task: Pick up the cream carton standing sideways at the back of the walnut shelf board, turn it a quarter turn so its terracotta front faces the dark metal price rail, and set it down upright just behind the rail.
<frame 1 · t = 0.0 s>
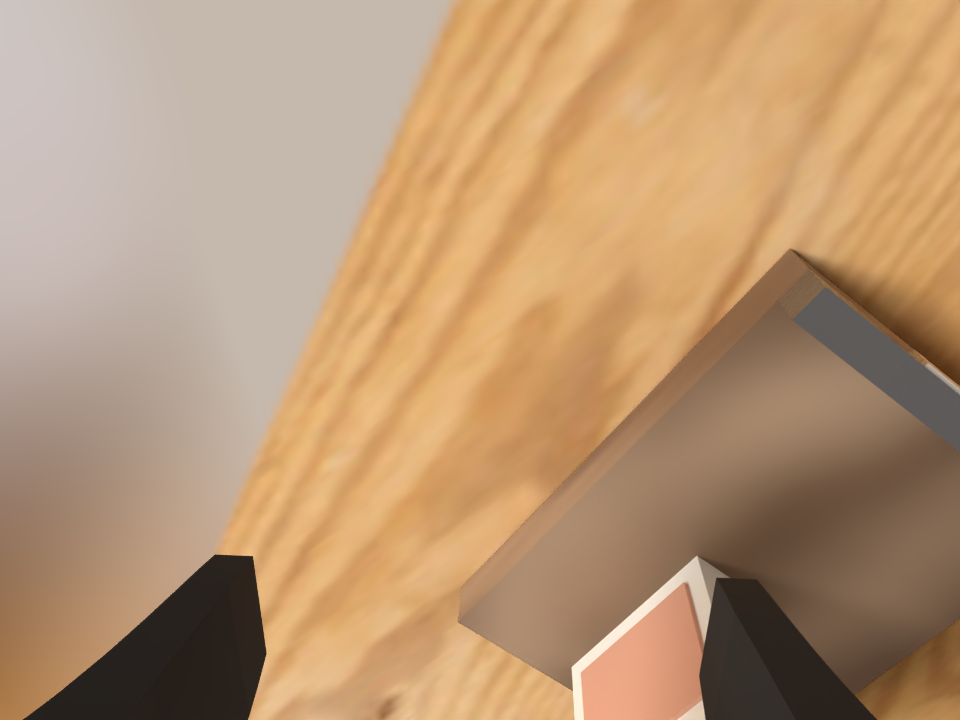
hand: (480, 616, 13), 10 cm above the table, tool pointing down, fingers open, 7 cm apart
carton: (676, 642, 24), point 1 cm above the table, touching shelf board
shelf board: (749, 536, 24), on the table
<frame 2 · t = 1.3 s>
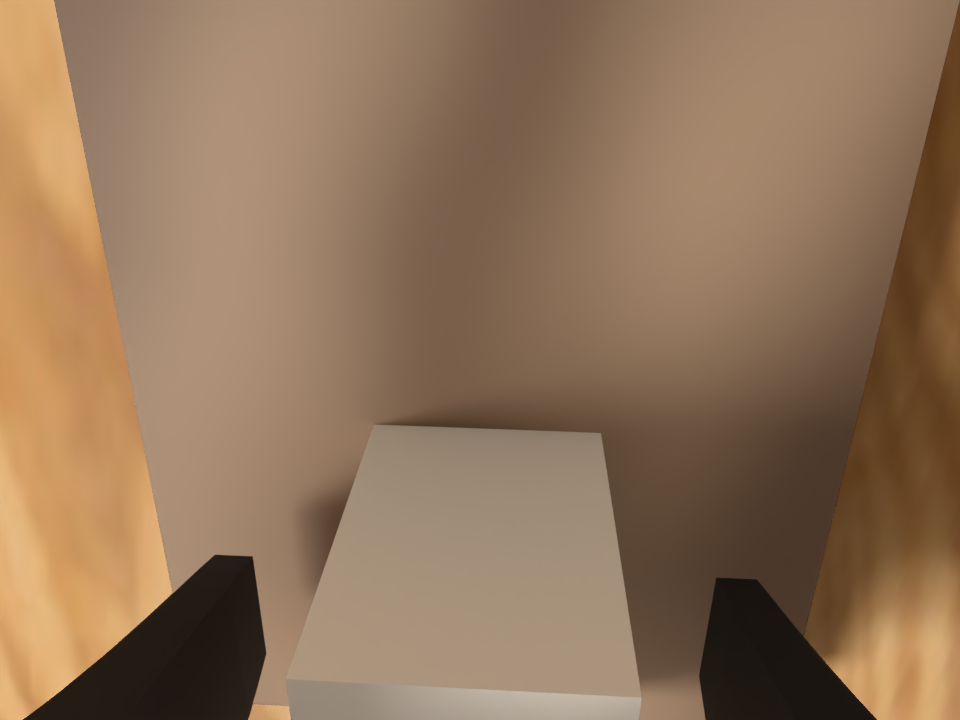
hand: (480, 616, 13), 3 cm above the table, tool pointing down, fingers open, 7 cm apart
carton: (484, 569, 14), point 1 cm above the table, touching shelf board
shelf board: (491, 343, 13), on the table
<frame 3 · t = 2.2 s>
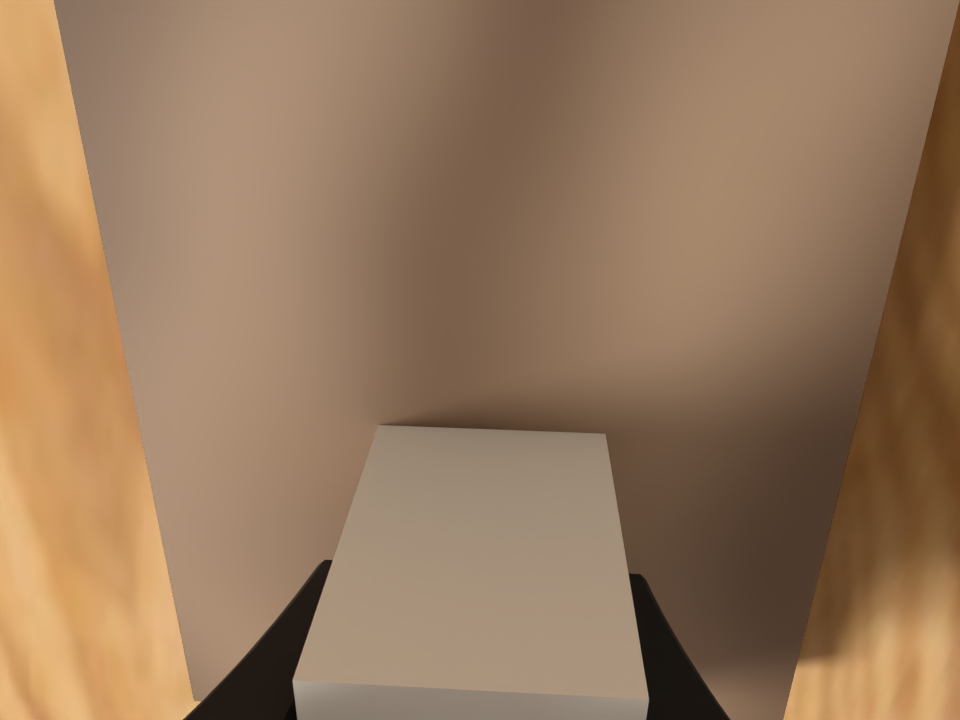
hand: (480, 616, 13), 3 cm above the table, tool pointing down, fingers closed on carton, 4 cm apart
carton: (488, 570, 14), point 2 cm above the table, touching gripper
shelf board: (491, 343, 13), on the table
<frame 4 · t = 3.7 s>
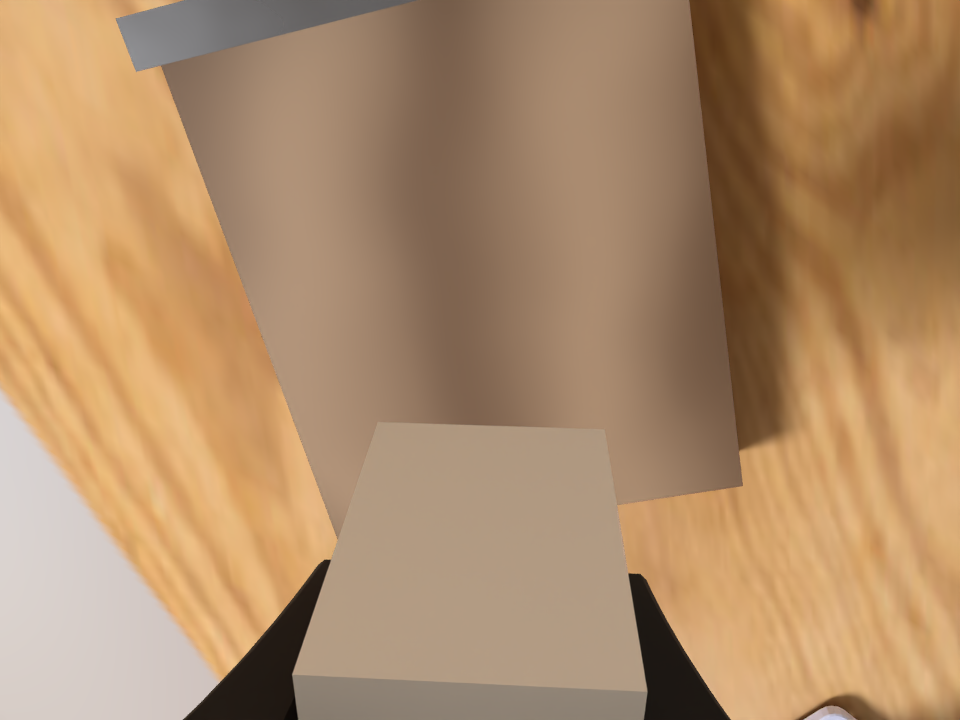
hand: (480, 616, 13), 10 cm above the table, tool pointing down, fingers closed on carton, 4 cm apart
carton: (488, 566, 14), point 9 cm above the table, touching gripper
shelf board: (479, 256, 20), on the table
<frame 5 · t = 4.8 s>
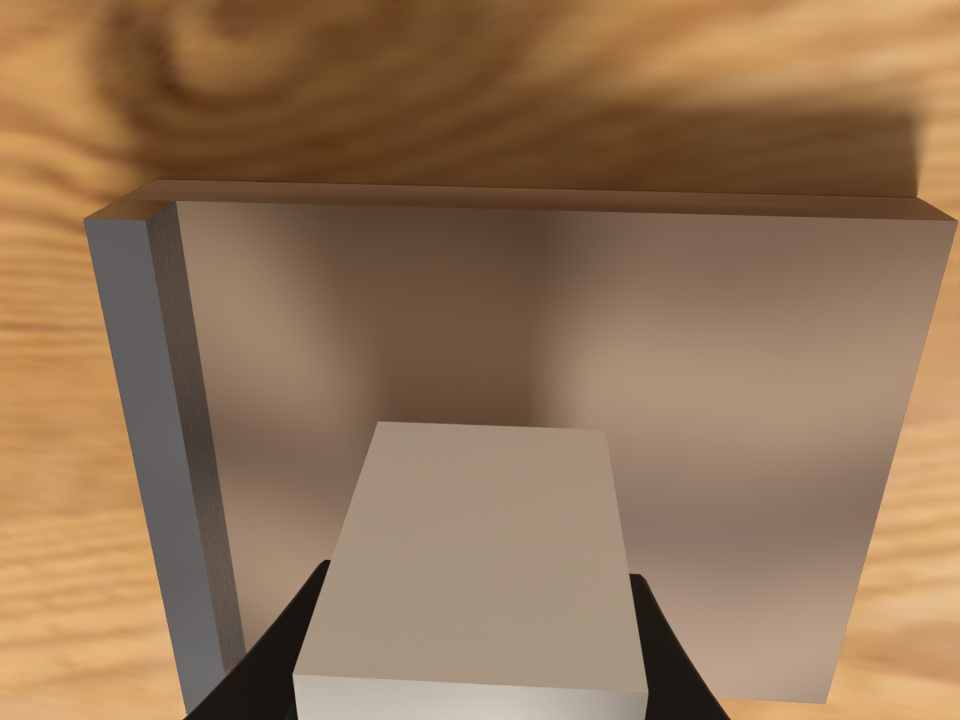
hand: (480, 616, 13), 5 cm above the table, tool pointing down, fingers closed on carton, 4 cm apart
carton: (488, 566, 14), point 4 cm above the table, touching gripper
price rail: (179, 488, 16), on the shelf board, point 2 cm above the table
shelf board: (518, 444, 17), on the table
when the fingers open (4 cm above the table, at t = 5.5 s): carton stays where it is, resting on shelf board.
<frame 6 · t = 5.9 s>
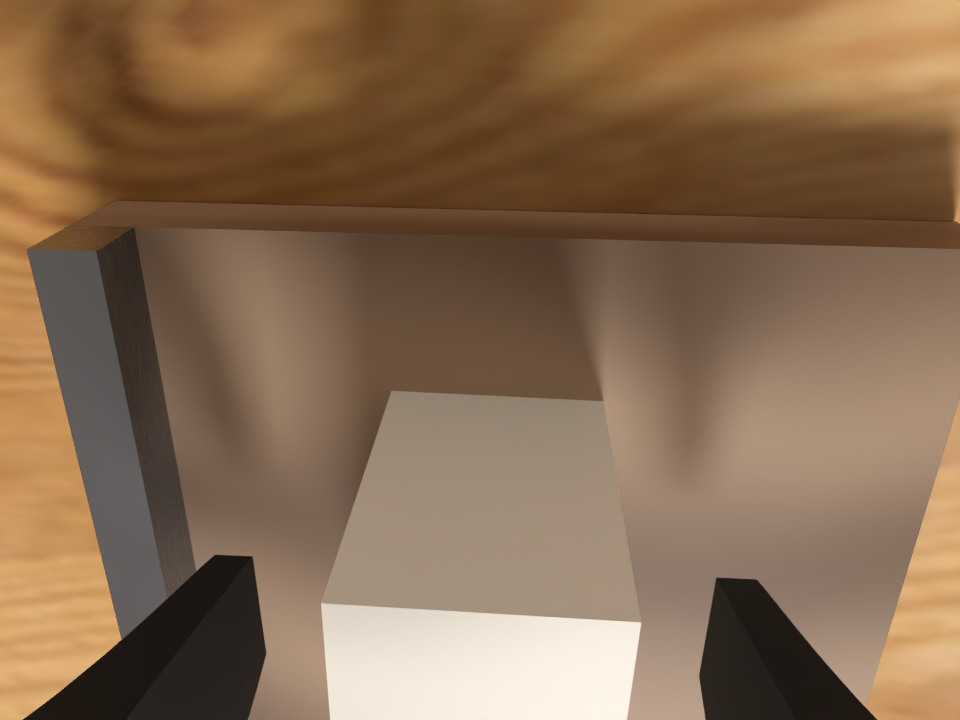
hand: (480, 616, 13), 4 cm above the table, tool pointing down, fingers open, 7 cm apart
carton: (491, 530, 14), point 1 cm above the table, touching shelf board
price rail: (143, 538, 14), on the shelf board, point 2 cm above the table
shelf board: (516, 485, 16), on the table
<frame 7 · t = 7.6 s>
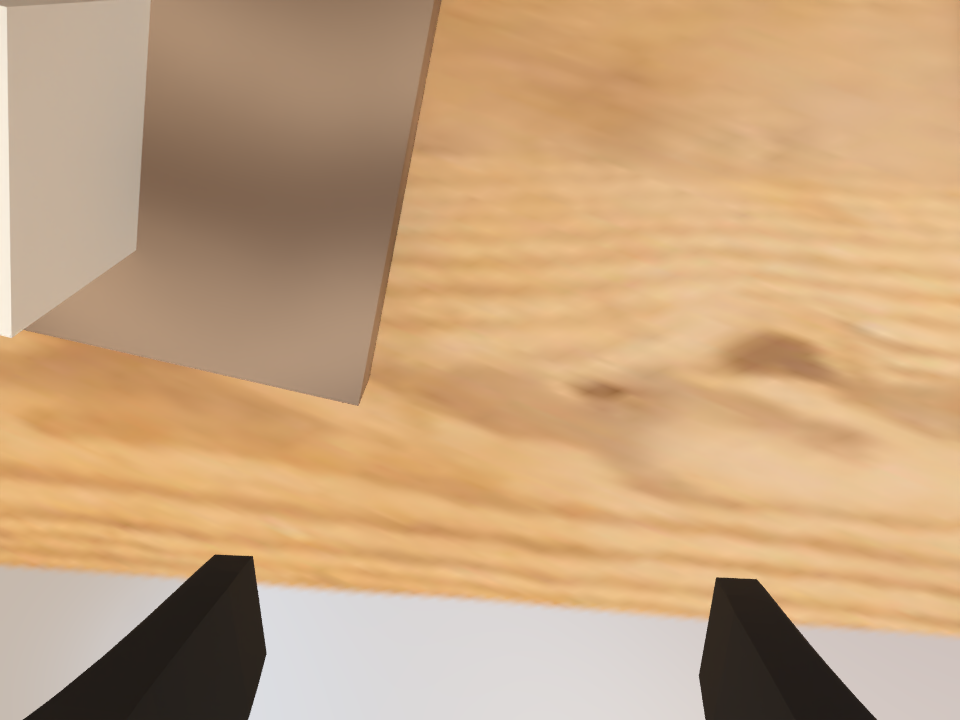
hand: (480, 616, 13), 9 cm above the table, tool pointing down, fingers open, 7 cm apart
carton: (62, 111, 17), point 1 cm above the table, touching shelf board
shelf board: (113, 107, 19), on the table
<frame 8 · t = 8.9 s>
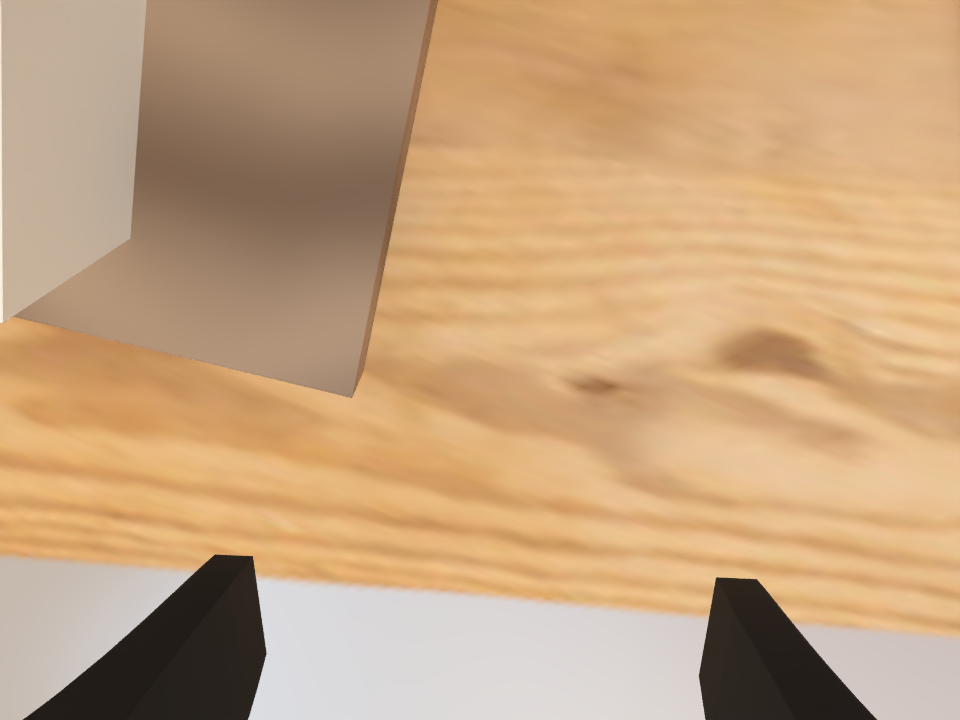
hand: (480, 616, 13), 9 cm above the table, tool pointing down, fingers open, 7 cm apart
carton: (57, 98, 17), point 1 cm above the table, touching shelf board
shelf board: (109, 95, 19), on the table
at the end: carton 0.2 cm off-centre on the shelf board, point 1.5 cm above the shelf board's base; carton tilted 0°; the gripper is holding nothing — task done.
